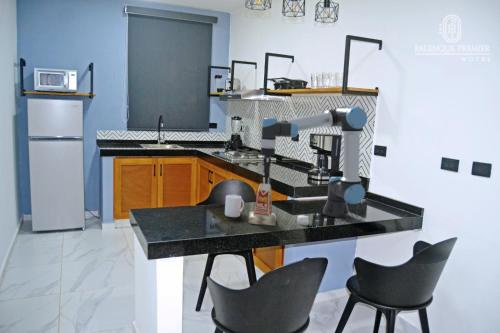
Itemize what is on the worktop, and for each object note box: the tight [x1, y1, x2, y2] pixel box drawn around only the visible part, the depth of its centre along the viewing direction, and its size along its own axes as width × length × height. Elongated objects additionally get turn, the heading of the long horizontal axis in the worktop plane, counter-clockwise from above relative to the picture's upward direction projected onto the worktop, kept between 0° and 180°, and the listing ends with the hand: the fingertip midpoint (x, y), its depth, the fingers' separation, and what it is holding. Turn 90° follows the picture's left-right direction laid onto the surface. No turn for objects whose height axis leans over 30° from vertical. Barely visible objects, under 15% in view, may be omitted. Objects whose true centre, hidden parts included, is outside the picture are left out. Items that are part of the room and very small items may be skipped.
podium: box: [248, 210, 277, 226], centre depth 221 cm, size 14×14×3 cm
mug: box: [224, 194, 245, 218], centre depth 229 cm, size 9×12×11 cm
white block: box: [296, 214, 310, 226], centre depth 222 cm, size 6×6×4 cm
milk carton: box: [253, 180, 273, 218], centre depth 220 cm, size 9×9×20 cm
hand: (265, 187), depth 219 cm, fingers open, 13 cm apart
